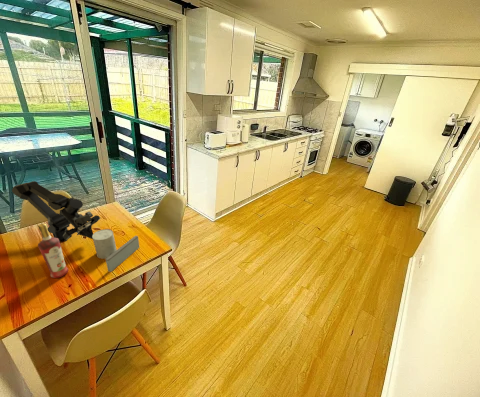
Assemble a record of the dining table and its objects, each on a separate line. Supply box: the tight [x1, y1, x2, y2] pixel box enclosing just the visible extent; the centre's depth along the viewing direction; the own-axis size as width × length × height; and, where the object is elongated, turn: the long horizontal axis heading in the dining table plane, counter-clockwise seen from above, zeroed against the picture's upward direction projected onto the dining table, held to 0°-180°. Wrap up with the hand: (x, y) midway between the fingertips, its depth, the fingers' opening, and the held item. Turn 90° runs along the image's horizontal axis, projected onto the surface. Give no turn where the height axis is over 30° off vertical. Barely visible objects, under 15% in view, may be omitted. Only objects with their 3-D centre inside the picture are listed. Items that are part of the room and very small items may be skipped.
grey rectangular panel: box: [104, 235, 140, 273], centre depth 118 cm, size 2×21×8 cm, turn 163°
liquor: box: [37, 223, 69, 279], centre depth 101 cm, size 7×7×28 cm
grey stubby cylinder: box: [92, 228, 118, 260], centre depth 120 cm, size 10×10×12 cm
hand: (93, 238), depth 121 cm, fingers closed
